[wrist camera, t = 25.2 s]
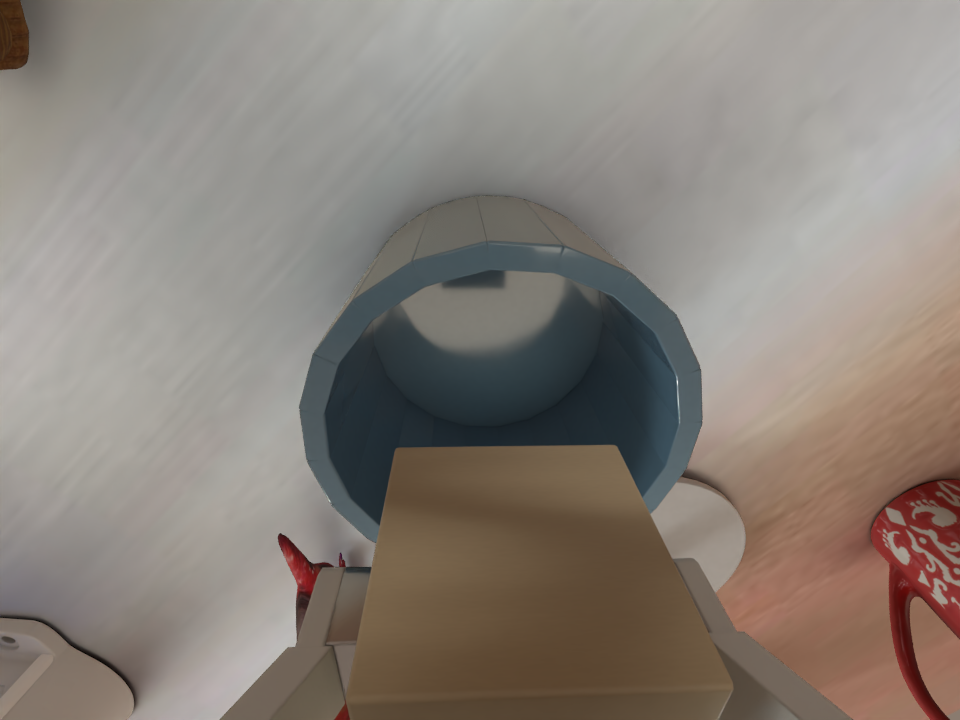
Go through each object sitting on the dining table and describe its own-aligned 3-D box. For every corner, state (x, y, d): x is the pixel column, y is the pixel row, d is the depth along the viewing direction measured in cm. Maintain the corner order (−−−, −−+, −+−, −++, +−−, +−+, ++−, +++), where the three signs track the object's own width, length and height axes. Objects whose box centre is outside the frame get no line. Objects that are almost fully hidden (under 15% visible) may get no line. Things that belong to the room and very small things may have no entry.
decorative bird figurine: (344, 633, 35) (305, 807, 26) (291, 452, 27) (207, 614, 18) (381, 631, 35) (355, 803, 26) (340, 449, 27) (281, 610, 18)
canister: (332, 392, 25) (267, 529, 16) (404, 147, 19) (361, 162, 11) (547, 456, 28) (585, 602, 19) (662, 256, 22) (788, 337, 14)
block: (407, 591, 12) (378, 855, 8) (394, 445, 10) (342, 702, 6) (588, 587, 12) (660, 841, 8) (617, 442, 10) (738, 687, 6)
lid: (502, 588, 33) (508, 657, 29) (592, 442, 27) (617, 501, 23) (665, 625, 36) (693, 692, 32) (779, 500, 30) (832, 561, 26)
